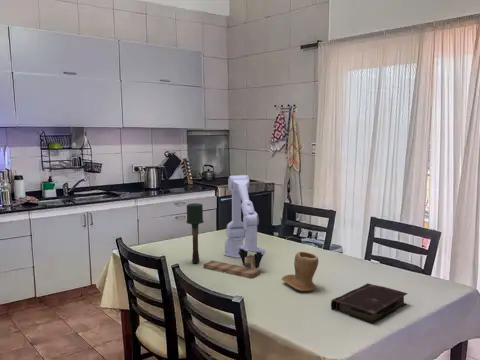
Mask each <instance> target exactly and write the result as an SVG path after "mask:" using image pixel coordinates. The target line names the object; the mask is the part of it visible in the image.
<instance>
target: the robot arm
mask: <svg viewBox="0 0 480 360" xmlns="http://www.w3.org/2000/svg"><path fill="white" fill-rule="evenodd" d="M227 184H228V190H229V191H230V192H231V221H230V222H229V223H227V225H226V230H225V231H226V233H225V234H226V239H225V242H224V254H223V256H225V255H226V256H225V257H230V258H231V257H232V258H236V259H239V258H240V259H241V263H242V265H243V267H245V257H247V256H248V252H250V253H255V254H253V255H254V257H255V267H256V268H257V269H258V268H260V265H261V261H262V259H263V257H264V255H265V254H266V249H264V248H261V247H258V226H259V224H260V223H259V222H260V218H259V214H258V213H257V211H255V207H254V203H253V201H251V200H250V197H249V190H248V189H249V186H250V177H249V175H248V174H244V175H229V177H228V181H227ZM242 214H243V216H242ZM242 217H243V218H242ZM242 220H243V221H242Z"/></svg>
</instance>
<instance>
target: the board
mask: <svg viewBox="0 0 480 360" xmlns="http://www.w3.org/2000/svg"><path fill="white" fill-rule="evenodd" d="M202 265H203V266H202V267H205V268H204V269H206V268H210V269H214V270H213V271H215V270H218V271H217V272H219V271H222V272H221V273H224V272H226V273H225V274H229V273H231V274H230V275H233V274H234V275H235V276H238V275H239V277H242V276H243V277H242V278H247V277H248V278H249V279H252V278H253V279H254V278H256V277H258V276H260V275H261V269H258V268H257V269H252V268H248V267H245V266H241V265H237V264H232V263H227V262H222V261H219V260H209V261H208V262H207V261H206V262H205V263H203V264H202ZM210 269H209V270H210ZM248 278H247V279H248Z"/></svg>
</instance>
